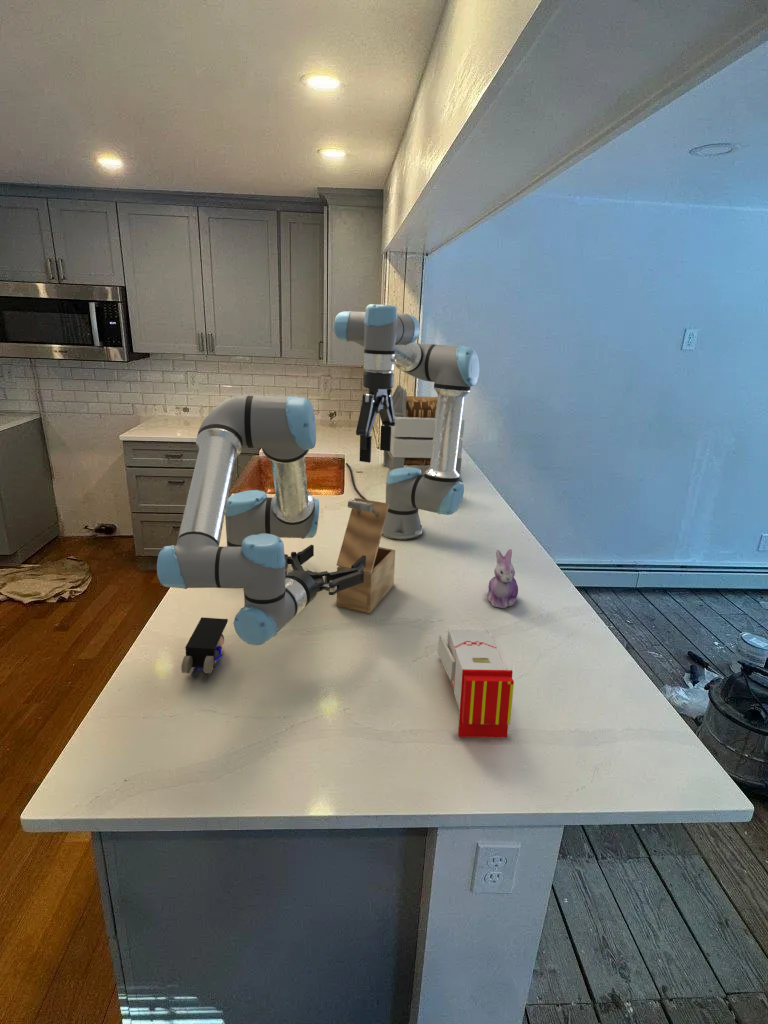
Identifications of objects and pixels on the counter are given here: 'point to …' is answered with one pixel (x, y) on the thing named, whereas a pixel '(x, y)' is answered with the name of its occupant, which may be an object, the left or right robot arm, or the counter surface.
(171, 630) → the counter surface
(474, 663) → the toy
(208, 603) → the counter surface
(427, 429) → the grey wooden crate
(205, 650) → the figurine character
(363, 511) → the lid
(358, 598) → the chest
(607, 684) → the counter surface
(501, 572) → the figurine
